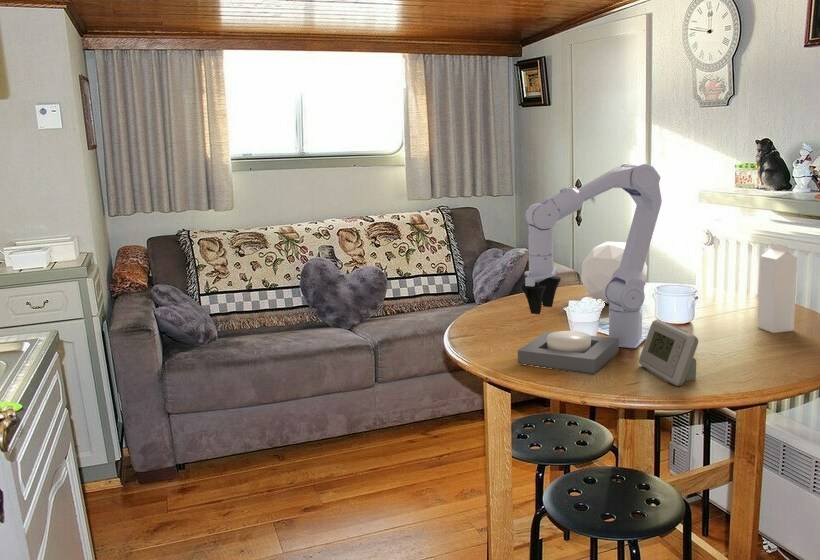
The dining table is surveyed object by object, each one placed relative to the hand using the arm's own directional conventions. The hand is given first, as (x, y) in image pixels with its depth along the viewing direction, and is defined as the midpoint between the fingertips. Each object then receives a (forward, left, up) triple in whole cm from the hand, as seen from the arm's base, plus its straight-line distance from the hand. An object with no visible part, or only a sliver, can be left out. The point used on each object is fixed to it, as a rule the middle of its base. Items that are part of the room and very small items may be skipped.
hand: (541, 310), depth 174 cm
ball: (-56, +1, -11) cm, 57 cm away
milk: (-41, +47, -11) cm, 63 cm away
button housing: (+3, +8, -10) cm, 13 cm away
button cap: (+3, +8, -8) cm, 12 cm away
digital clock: (+6, +31, -11) cm, 33 cm away
